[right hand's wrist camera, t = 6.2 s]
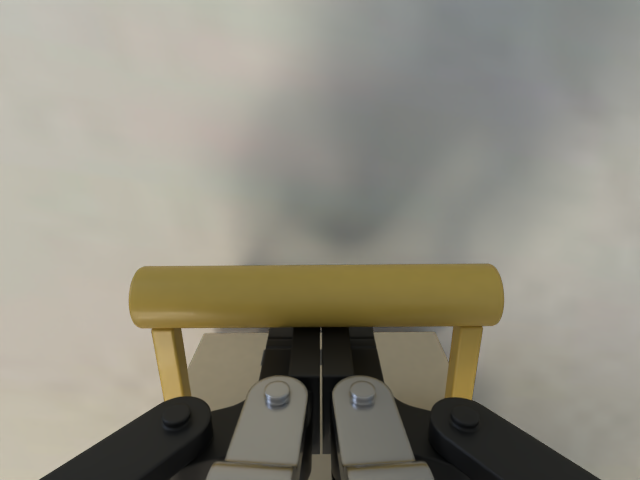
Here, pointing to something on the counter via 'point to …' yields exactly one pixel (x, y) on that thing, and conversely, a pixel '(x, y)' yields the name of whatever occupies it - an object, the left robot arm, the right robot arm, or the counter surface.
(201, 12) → the counter surface
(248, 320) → the drawer
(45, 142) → the counter surface
